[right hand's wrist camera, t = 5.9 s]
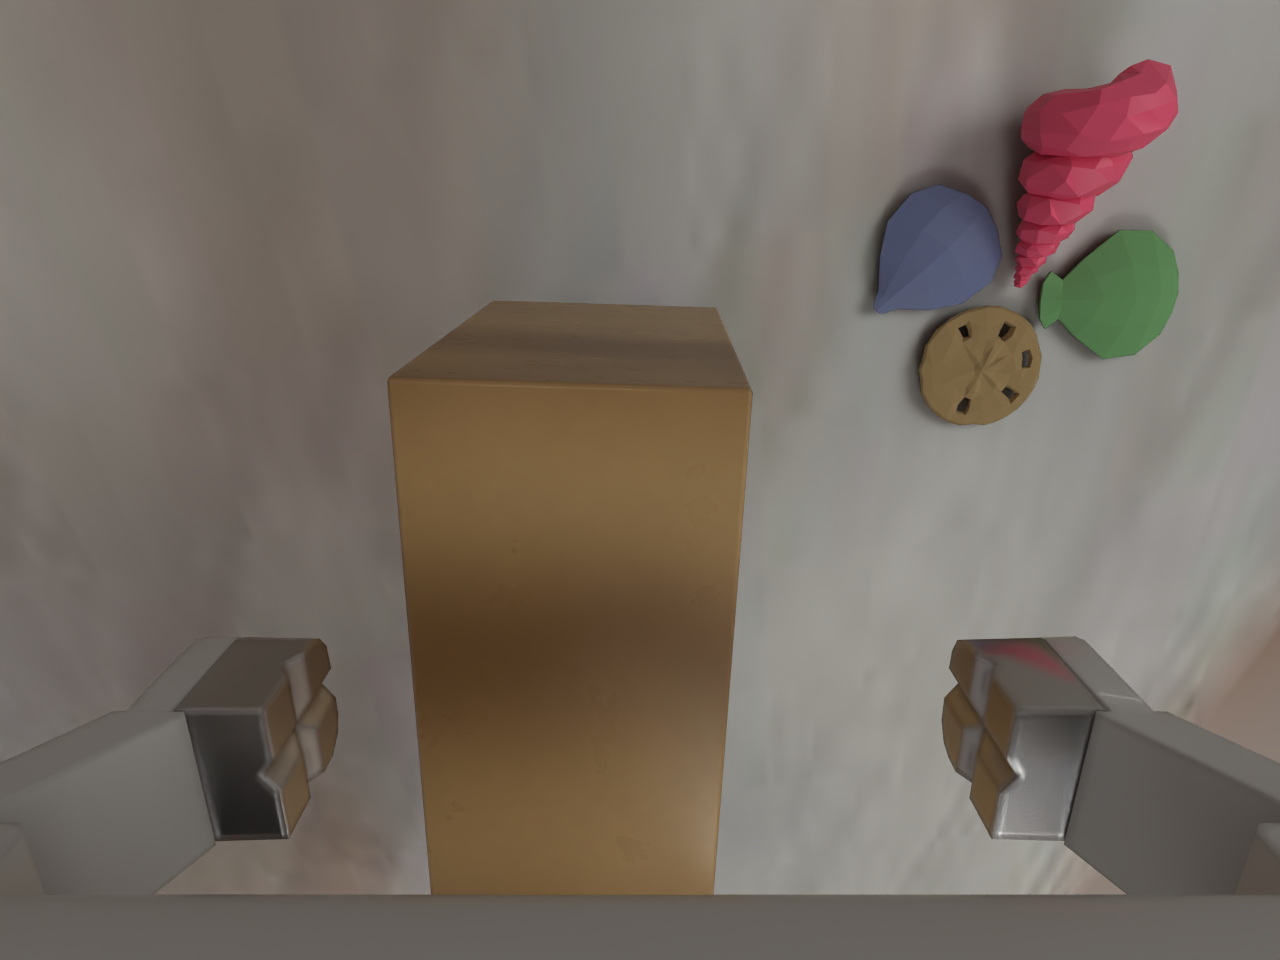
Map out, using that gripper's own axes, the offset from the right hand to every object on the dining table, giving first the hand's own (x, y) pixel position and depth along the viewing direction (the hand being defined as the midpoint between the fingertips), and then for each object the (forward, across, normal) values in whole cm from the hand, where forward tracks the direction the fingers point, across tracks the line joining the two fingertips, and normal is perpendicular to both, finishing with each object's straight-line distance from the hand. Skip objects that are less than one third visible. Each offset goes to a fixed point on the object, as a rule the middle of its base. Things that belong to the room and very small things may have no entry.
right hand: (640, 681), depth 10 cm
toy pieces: (+22, +14, +3) cm, 27 cm away
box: (+13, -1, -11) cm, 17 cm away
